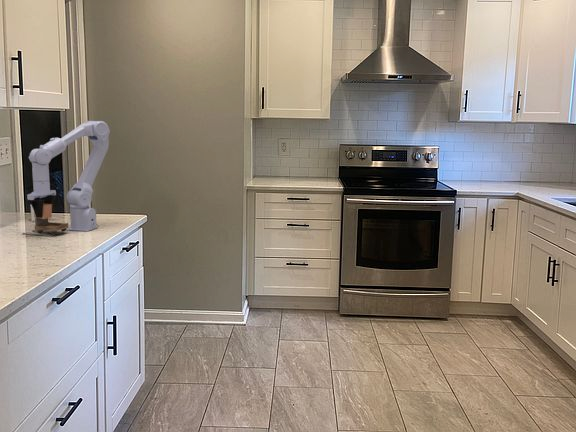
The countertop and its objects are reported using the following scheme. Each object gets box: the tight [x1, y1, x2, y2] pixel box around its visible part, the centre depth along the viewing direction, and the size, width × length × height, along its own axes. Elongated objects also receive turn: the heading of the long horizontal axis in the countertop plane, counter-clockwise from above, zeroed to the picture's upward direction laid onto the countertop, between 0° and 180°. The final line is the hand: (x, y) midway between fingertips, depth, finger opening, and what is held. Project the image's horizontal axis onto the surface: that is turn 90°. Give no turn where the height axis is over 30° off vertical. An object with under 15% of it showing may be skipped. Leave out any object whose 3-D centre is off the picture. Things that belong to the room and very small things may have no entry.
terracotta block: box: [34, 203, 53, 219], centre depth 218 cm, size 4×4×5 cm
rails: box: [21, 229, 64, 237], centre depth 220 cm, size 13×7×1 cm, turn 78°
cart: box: [34, 218, 70, 236], centre depth 219 cm, size 9×8×6 cm
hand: (43, 216), depth 218 cm, fingers closed on terracotta block, 4 cm apart
